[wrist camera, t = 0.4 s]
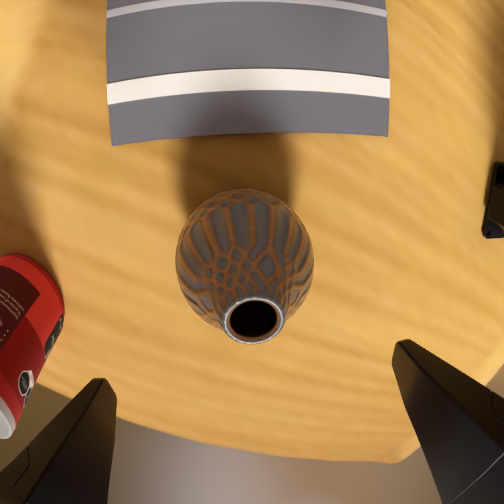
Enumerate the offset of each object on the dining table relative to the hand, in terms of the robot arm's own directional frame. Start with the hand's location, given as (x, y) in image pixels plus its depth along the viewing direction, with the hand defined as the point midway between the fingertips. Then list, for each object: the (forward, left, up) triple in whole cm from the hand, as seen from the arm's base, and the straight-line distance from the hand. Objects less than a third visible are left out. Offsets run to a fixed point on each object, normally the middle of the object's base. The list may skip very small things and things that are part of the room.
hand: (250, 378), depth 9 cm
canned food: (+17, +4, -12) cm, 21 cm away
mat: (-1, -14, -12) cm, 18 cm away
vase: (0, 0, -12) cm, 12 cm away
